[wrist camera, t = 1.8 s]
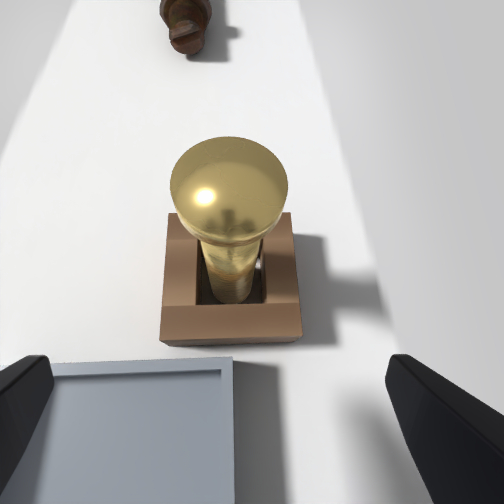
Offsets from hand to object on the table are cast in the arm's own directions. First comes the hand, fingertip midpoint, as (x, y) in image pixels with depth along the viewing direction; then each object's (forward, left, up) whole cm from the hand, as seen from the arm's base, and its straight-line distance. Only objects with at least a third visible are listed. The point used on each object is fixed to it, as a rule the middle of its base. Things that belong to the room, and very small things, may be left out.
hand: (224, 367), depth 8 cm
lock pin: (+6, 0, -12) cm, 13 cm away
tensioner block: (+6, 0, -12) cm, 13 cm away
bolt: (+36, +4, -13) cm, 38 cm away
